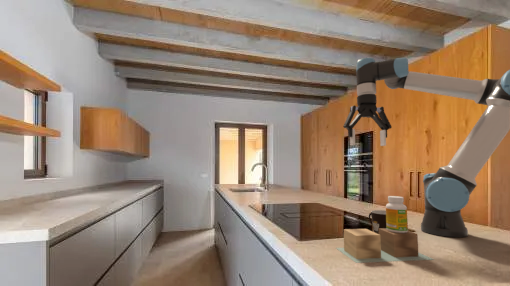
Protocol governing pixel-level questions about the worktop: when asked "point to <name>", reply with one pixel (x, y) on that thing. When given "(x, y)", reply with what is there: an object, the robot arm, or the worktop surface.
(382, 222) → the coffee mug
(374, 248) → the oak block
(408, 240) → the tower block
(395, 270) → the worktop surface
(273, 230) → the worktop surface
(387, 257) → the building board
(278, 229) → the worktop surface
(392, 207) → the supplement bottle
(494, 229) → the worktop surface
